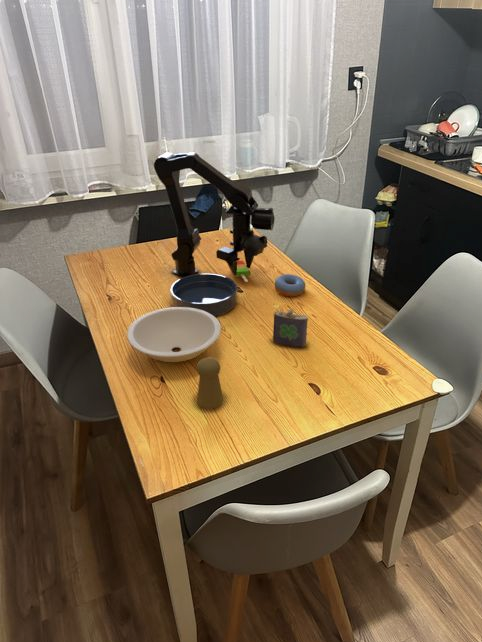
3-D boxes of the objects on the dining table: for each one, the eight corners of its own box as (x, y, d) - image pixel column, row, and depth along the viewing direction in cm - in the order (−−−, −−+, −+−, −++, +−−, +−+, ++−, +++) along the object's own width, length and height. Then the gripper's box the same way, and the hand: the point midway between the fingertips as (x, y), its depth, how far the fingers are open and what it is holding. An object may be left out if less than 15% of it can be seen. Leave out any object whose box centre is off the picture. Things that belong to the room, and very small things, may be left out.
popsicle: (243, 264, 174) (243, 259, 173) (254, 283, 162) (254, 278, 161) (227, 266, 173) (227, 261, 172) (238, 285, 161) (238, 280, 160)
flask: (306, 343, 135) (309, 309, 130) (304, 349, 133) (306, 314, 127) (274, 338, 137) (275, 304, 132) (271, 343, 135) (272, 309, 129)
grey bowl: (145, 388, 118) (141, 366, 114) (120, 339, 136) (116, 318, 132) (236, 362, 127) (236, 341, 124) (202, 319, 145) (200, 299, 142)
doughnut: (310, 294, 159) (311, 282, 157) (283, 301, 156) (283, 288, 153) (295, 282, 167) (296, 269, 164) (269, 287, 163) (269, 275, 161)
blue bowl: (158, 303, 153) (156, 289, 150) (204, 281, 166) (203, 268, 164) (205, 326, 142) (204, 310, 140) (250, 300, 156) (250, 286, 153)
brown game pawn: (197, 392, 117) (194, 354, 111) (223, 391, 117) (221, 353, 112) (196, 409, 112) (193, 370, 106) (223, 408, 112) (222, 369, 106)
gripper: (241, 241, 148) (241, 288, 157) (279, 225, 161) (277, 269, 169) (214, 232, 154) (216, 278, 163) (252, 217, 167) (252, 260, 175)
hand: (241, 271), depth 167 cm, fingers closed on popsicle, 7 cm apart
